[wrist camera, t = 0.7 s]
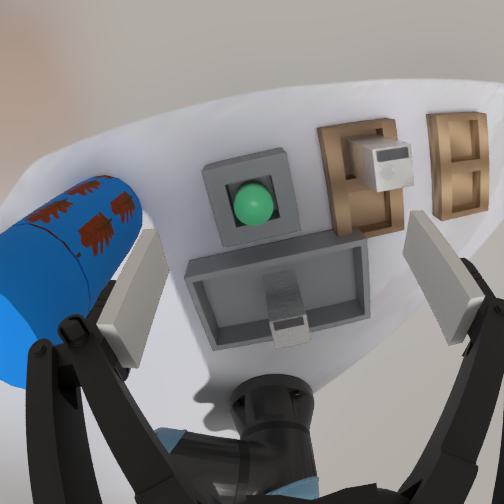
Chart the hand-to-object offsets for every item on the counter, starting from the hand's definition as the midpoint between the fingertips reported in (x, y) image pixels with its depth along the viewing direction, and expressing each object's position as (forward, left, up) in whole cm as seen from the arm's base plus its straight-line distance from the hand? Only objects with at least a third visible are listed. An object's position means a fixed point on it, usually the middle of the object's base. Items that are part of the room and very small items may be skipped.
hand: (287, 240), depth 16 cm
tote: (-16, +1, -23) cm, 28 cm away
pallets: (-4, -19, -23) cm, 30 cm away
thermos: (-1, +21, -23) cm, 31 cm away
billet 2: (-1, -12, -22) cm, 25 cm away
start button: (-3, +2, -20) cm, 20 cm away
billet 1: (-16, +1, -22) cm, 27 cm away
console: (-3, +2, -23) cm, 23 cm away
